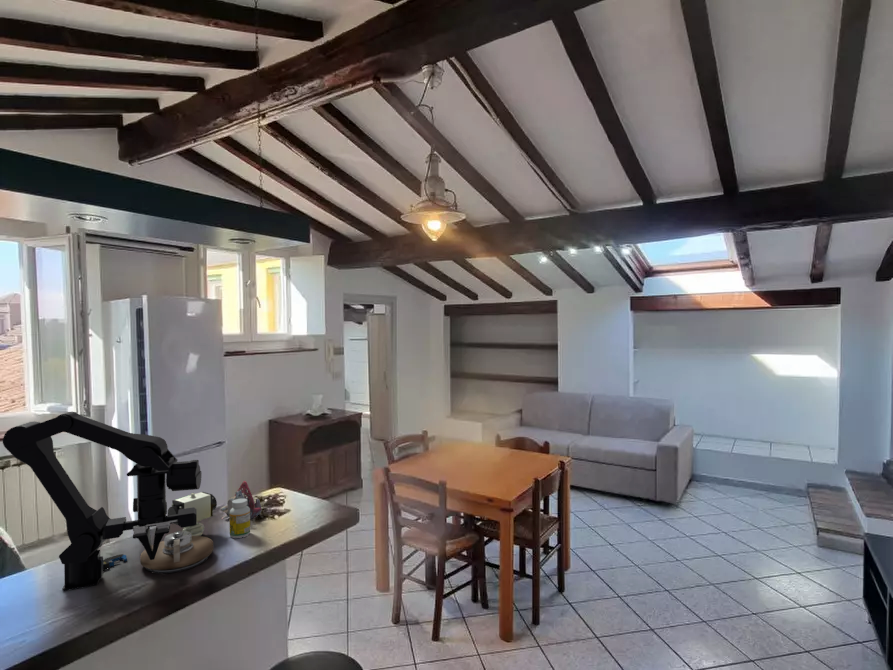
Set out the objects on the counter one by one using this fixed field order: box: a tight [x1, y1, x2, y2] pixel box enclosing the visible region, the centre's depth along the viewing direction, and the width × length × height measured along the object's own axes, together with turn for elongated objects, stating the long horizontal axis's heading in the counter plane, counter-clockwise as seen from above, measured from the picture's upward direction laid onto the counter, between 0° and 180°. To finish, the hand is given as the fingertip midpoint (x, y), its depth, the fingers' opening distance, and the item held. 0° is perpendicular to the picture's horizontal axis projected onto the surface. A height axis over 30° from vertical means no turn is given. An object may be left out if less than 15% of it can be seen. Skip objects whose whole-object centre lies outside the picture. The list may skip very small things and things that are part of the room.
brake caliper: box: [220, 480, 262, 520], centre depth 155 cm, size 11×11×12 cm
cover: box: [163, 530, 193, 555], centre depth 127 cm, size 7×7×4 cm
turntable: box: [139, 535, 214, 570], centre depth 126 cm, size 16×16×5 cm
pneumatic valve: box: [167, 491, 218, 536], centre depth 141 cm, size 6×12×12 cm, turn 148°
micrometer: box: [103, 553, 128, 571], centre depth 123 cm, size 12×2×5 cm
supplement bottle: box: [228, 499, 251, 539], centre depth 142 cm, size 5×5×10 cm
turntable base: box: [145, 555, 210, 575], centre depth 126 cm, size 14×14×1 cm
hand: (152, 559), depth 119 cm, fingers closed
